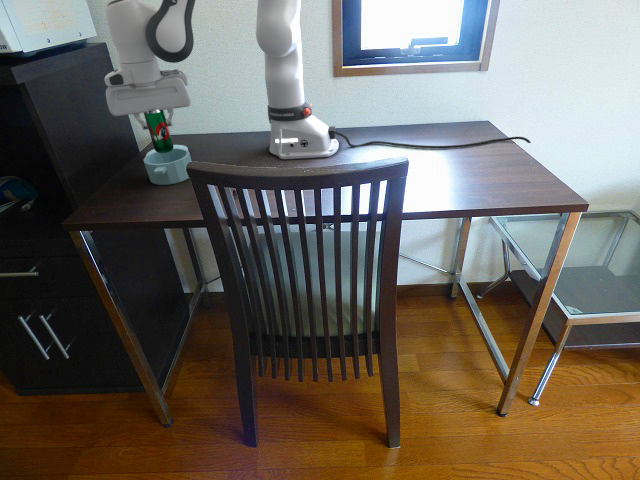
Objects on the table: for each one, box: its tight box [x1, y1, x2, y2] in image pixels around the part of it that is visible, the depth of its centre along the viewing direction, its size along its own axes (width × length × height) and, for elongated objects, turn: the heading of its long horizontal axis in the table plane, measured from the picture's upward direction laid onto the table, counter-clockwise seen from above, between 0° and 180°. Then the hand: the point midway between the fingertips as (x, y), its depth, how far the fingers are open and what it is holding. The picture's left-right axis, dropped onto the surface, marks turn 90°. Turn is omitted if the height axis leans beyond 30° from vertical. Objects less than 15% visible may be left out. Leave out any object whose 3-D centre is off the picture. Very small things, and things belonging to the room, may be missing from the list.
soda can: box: [143, 108, 174, 153], centre depth 105 cm, size 5×5×12 cm
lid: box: [145, 144, 189, 157], centre depth 126 cm, size 13×13×4 cm
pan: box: [142, 147, 193, 186], centre depth 111 cm, size 12×18×6 cm
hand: (157, 127), depth 105 cm, fingers closed on soda can, 5 cm apart
